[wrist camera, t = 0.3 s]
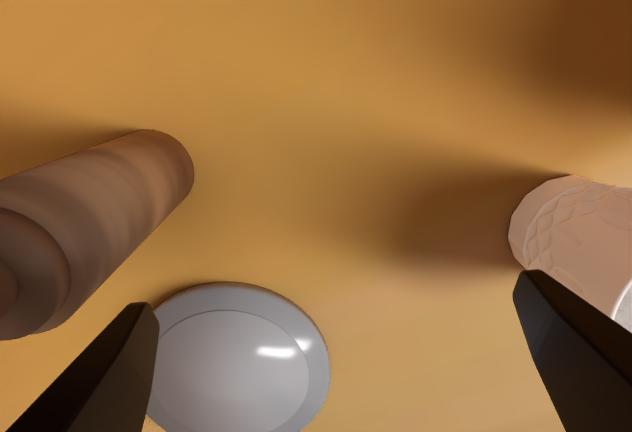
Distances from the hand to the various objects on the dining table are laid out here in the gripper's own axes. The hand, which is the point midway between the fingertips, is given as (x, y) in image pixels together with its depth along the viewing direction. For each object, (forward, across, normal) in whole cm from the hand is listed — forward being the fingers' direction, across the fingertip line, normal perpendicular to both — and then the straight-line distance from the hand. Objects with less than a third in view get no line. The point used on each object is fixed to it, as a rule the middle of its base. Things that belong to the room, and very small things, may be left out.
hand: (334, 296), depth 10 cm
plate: (+10, +7, +18) cm, 22 cm away
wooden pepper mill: (+14, +10, +4) cm, 18 cm away
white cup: (+13, -15, +10) cm, 22 cm away
